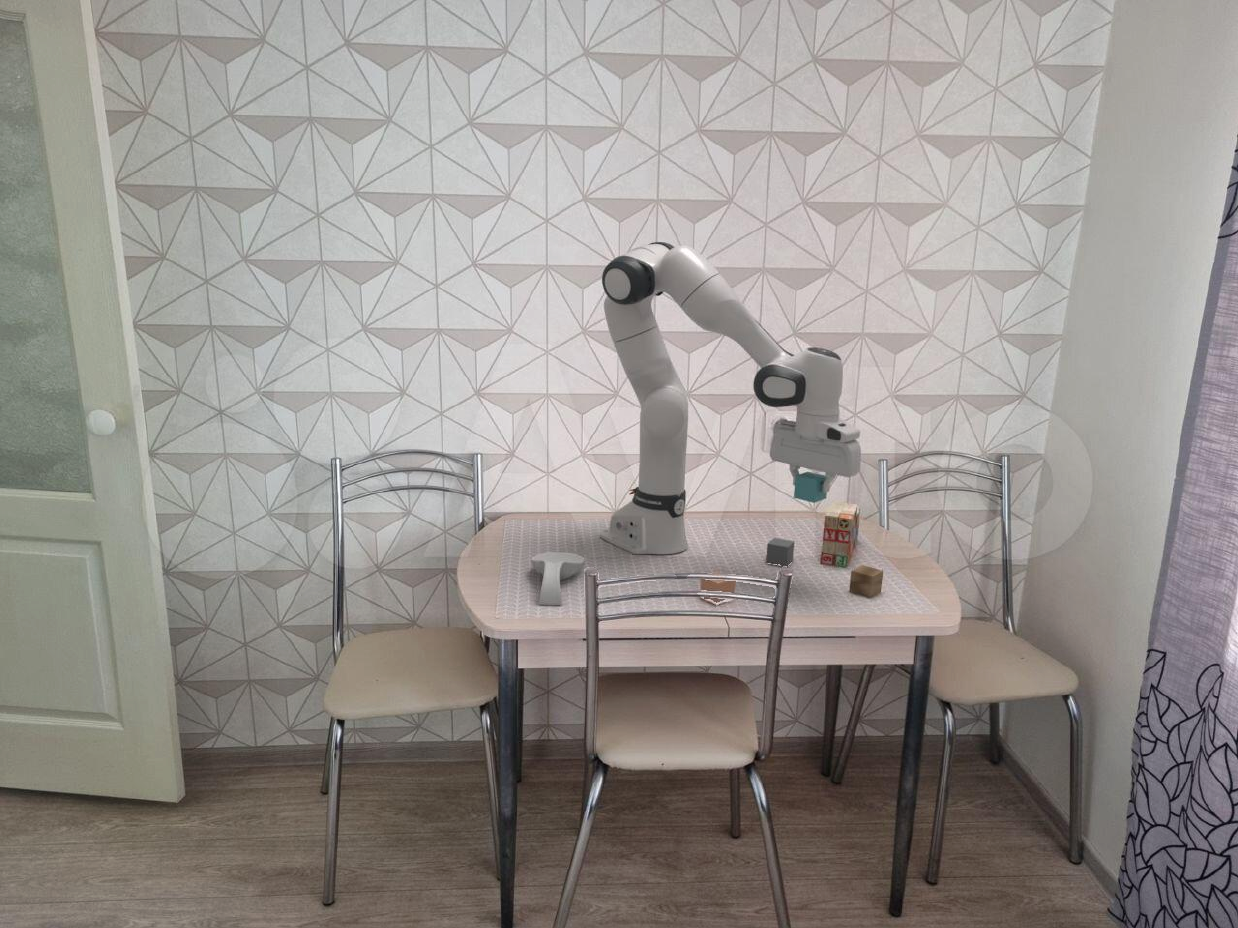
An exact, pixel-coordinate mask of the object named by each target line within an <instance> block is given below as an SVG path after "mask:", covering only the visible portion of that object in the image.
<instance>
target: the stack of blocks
mask: <svg viewBox="0 0 1238 928" xmlns="http://www.w3.org/2000/svg"><path fill="white" fill-rule="evenodd" d="M860 511H861V506H858V504H856V503H846V502H841V501H840V502H838V501H832V502H831V504H830V506H829V508H828V509H827V512H826V513H825V516H824V523H823V526H824V528H823V534H822V546H821V547H822V548H821V554H820V555H821V556H820V564H821V565H825V566H832V567H839V568H846V569H847V568H848V566H849V564H850V562H851V559H852V557H853V553H854V550H855V548H856V545H857V543H858V536H859V528H860Z"/></svg>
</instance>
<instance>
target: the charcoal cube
mask: <svg viewBox="0 0 1238 928" xmlns="http://www.w3.org/2000/svg"><path fill="white" fill-rule="evenodd" d="M794 553H795V541H794V540H789V539H783V538H778V537H773V538H772V539H771V540H770V541H768V542H767V546H766V556H765V557H766V558H765V559H766V561H765V564H766V563H771V564H777V565H778V564H780V565H781V566H780V567H782V566H787V568H788V567H789V566H790V565H791V564H790V563H791V562H792V563H793V562H794V555H795V554H794ZM771 564H770V565H771ZM789 564H790V565H789ZM788 565H789V566H788ZM782 568H783V567H782Z"/></svg>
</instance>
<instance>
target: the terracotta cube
mask: <svg viewBox="0 0 1238 928" xmlns="http://www.w3.org/2000/svg"><path fill="white" fill-rule="evenodd" d="M711 573H712V574H725V573H723V572H721V571H714V572H711ZM701 590H707V591H722V592H731V593H734V594H735V592H736V591H735V590H736V580H735V581H725V580H705V579H700V591H701ZM704 599H711V600H713V601H714V602H716V603H717V602H720V601H723V600H725V599H718V598H710V597H704Z"/></svg>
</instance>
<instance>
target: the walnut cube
mask: <svg viewBox="0 0 1238 928" xmlns="http://www.w3.org/2000/svg"><path fill="white" fill-rule="evenodd" d="M883 577H884V570H882V569H878V568H876V567H875V568H874V567H871V566H868V565H864V564H861V565H860V566H858V567H855V568H854V569H852V570H851V572H850V578H849V579H850V580H849V591H848V592H849V593H852V594H855V595H858V596H862V597H864V598H868V599H872V598H873V597H875V596H877V595H879V594H880V593H882V586H883Z"/></svg>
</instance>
